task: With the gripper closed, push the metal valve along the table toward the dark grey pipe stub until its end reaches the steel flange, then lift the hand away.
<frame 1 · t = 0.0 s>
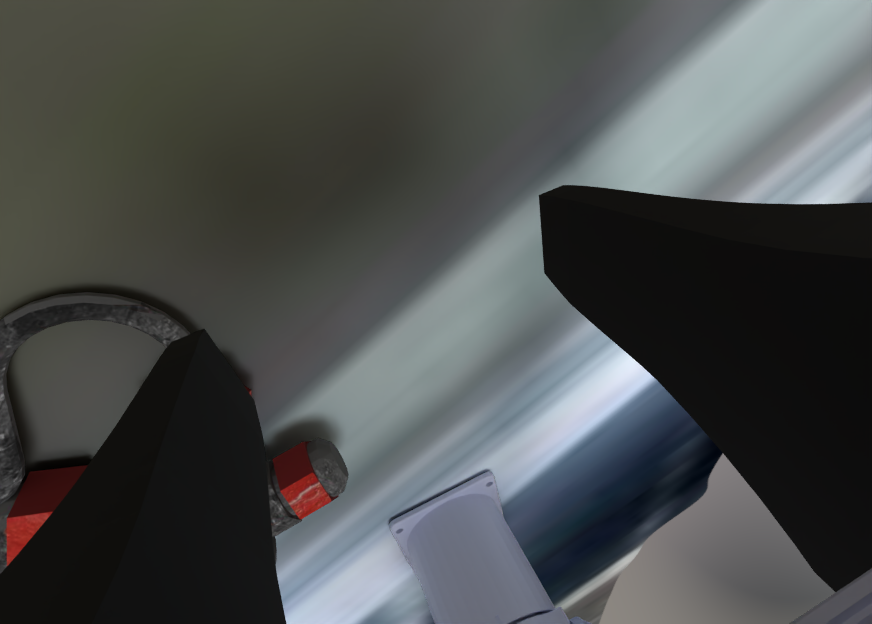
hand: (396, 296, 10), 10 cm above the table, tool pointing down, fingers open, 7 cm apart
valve: (32, 434, 19), on the table
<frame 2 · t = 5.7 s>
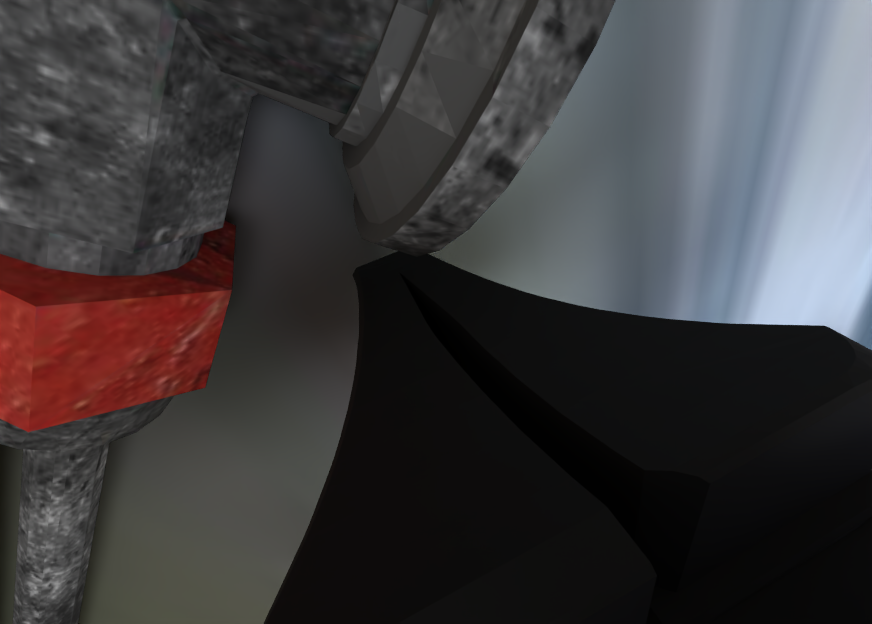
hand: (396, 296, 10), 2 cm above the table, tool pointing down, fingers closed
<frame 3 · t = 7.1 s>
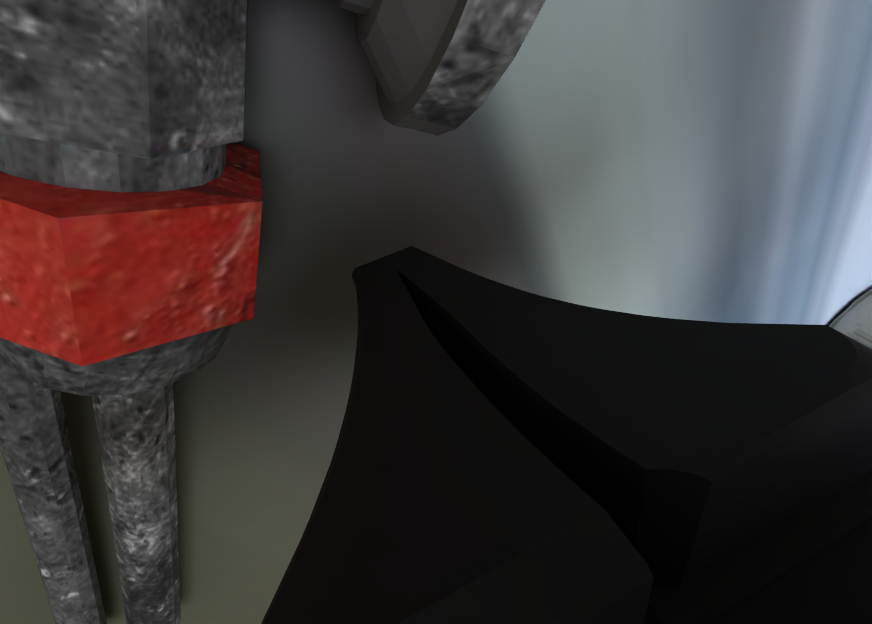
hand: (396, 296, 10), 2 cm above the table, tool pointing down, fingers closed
spray can: (845, 330, 24), on the table
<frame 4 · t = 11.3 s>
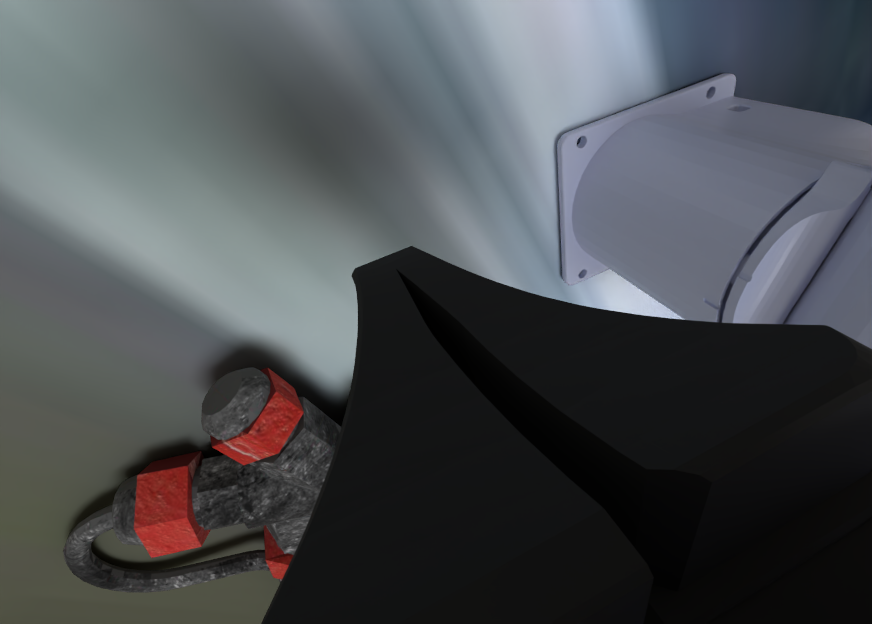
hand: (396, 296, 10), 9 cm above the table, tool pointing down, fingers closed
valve: (252, 523, 26), on the table
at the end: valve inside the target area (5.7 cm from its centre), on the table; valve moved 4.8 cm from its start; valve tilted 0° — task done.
